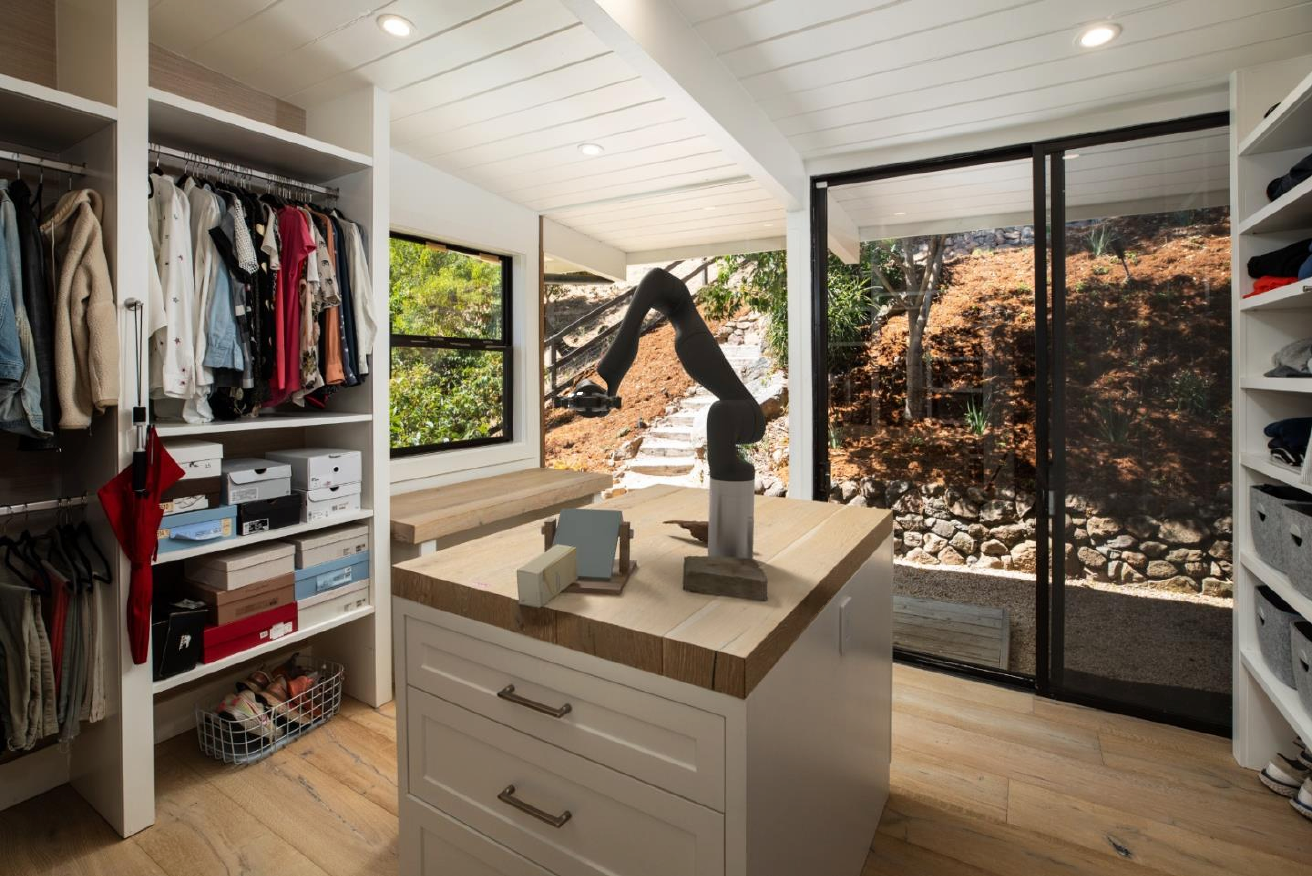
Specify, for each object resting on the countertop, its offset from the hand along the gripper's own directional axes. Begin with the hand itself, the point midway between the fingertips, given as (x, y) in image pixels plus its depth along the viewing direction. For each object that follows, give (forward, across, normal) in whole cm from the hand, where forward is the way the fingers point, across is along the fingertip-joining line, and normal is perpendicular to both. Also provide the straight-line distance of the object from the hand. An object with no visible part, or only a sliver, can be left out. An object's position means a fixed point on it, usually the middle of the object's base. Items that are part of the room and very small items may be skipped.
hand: (586, 403), depth 137 cm
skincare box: (+19, -2, +27) cm, 33 cm away
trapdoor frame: (+13, 0, +32) cm, 34 cm away
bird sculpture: (-14, +27, +32) cm, 44 cm away
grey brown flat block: (+18, +26, +33) cm, 45 cm away
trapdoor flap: (+10, +1, +29) cm, 30 cm away
